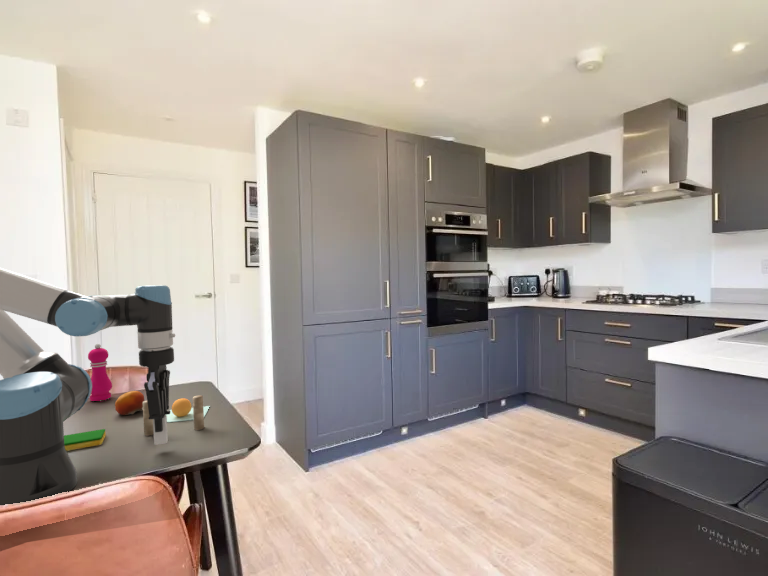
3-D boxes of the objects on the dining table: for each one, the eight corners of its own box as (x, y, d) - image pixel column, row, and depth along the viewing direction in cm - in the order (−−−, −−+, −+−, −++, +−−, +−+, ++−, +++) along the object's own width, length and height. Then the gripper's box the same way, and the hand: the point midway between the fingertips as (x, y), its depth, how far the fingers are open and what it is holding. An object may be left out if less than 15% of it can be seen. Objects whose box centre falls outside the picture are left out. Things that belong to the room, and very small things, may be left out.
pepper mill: (116, 398, 148) (113, 342, 147) (94, 403, 142) (90, 346, 141) (107, 395, 152) (104, 341, 151) (84, 400, 145) (81, 344, 145)
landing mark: (159, 423, 120) (159, 422, 120) (170, 410, 132) (170, 409, 132) (203, 418, 123) (203, 418, 123) (210, 406, 135) (210, 405, 135)
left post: (142, 436, 111) (141, 403, 111) (146, 432, 113) (144, 400, 113) (153, 435, 112) (151, 402, 111) (156, 431, 114) (154, 399, 114)
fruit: (136, 413, 126) (123, 390, 126) (118, 425, 127) (105, 403, 128) (155, 404, 134) (143, 383, 134) (138, 416, 135) (126, 395, 136)
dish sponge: (42, 448, 106) (41, 438, 106) (106, 437, 113) (105, 428, 112) (33, 458, 100) (32, 449, 100) (101, 446, 106) (101, 437, 106)
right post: (193, 430, 114) (191, 398, 114) (195, 427, 116) (193, 395, 116) (203, 429, 115) (201, 397, 114) (205, 426, 117) (203, 395, 117)
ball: (173, 402, 128) (174, 420, 126) (169, 398, 124) (170, 416, 122) (192, 398, 130) (193, 416, 128) (189, 394, 126) (190, 412, 123)
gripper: (165, 351, 95) (170, 451, 96) (179, 342, 108) (183, 431, 109) (129, 354, 93) (135, 456, 94) (147, 344, 106) (152, 434, 107)
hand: (161, 442), depth 101 cm, fingers closed
